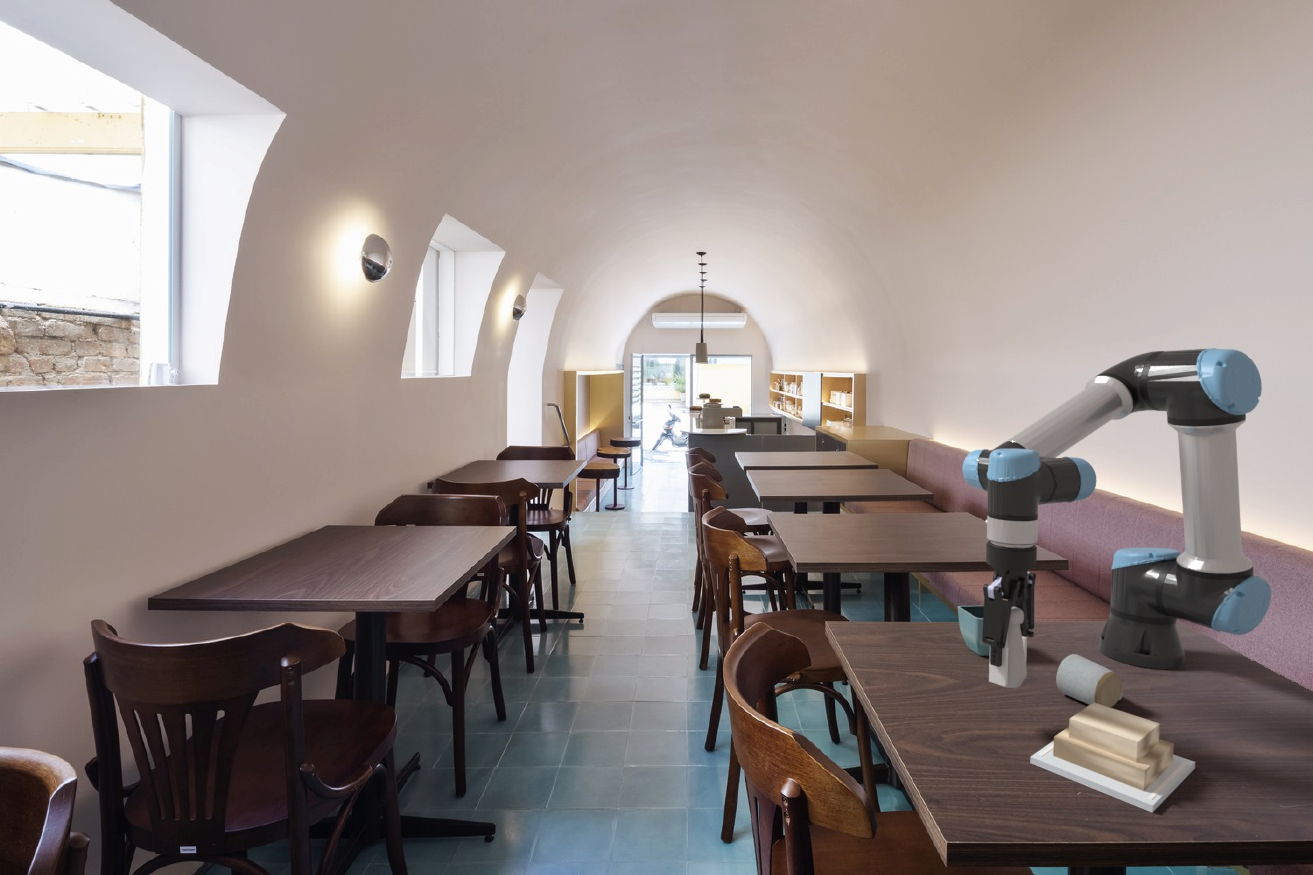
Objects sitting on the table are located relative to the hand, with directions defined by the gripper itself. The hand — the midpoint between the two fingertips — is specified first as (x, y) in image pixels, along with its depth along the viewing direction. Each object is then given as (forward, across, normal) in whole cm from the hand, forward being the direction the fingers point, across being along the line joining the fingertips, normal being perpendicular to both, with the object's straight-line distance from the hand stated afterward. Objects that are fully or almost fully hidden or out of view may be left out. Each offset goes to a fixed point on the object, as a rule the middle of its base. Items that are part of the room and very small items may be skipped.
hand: (1007, 677), depth 120 cm
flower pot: (+9, -30, -19) cm, 36 cm away
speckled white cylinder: (+9, -22, +5) cm, 25 cm away
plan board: (+8, 0, +16) cm, 18 cm away
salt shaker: (+1, 0, 0) cm, 1 cm away
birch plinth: (+8, 0, +16) cm, 18 cm away
